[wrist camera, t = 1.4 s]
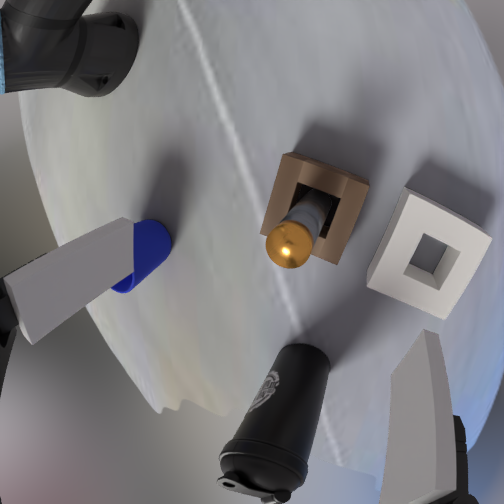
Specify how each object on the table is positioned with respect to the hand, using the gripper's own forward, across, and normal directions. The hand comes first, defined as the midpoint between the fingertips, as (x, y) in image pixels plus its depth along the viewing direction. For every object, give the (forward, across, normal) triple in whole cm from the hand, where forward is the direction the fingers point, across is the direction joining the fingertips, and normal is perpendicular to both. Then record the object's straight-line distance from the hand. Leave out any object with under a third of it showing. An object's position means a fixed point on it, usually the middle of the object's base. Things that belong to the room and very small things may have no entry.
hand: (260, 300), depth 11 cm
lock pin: (+23, -1, -2) cm, 23 cm away
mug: (+23, -24, -16) cm, 36 cm away
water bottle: (+23, +5, -26) cm, 35 cm away
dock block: (+23, +13, -2) cm, 26 cm away
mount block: (+23, -1, -2) cm, 23 cm away
